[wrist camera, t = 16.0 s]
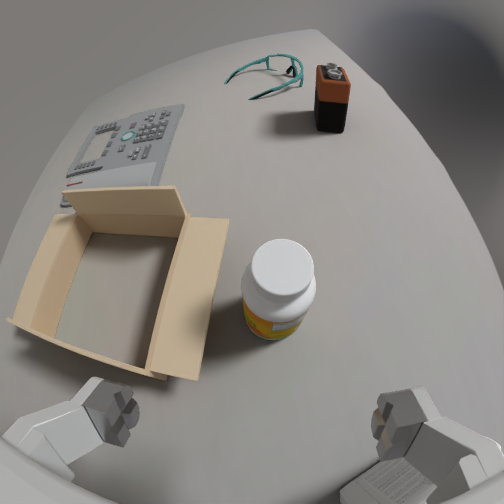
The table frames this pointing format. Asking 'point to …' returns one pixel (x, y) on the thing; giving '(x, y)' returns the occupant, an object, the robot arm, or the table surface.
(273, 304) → the supplement bottle
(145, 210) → the carton
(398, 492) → the photo printer
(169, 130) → the office telephone
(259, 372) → the table surface
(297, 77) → the sunglasses
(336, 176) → the table surface
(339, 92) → the battery
